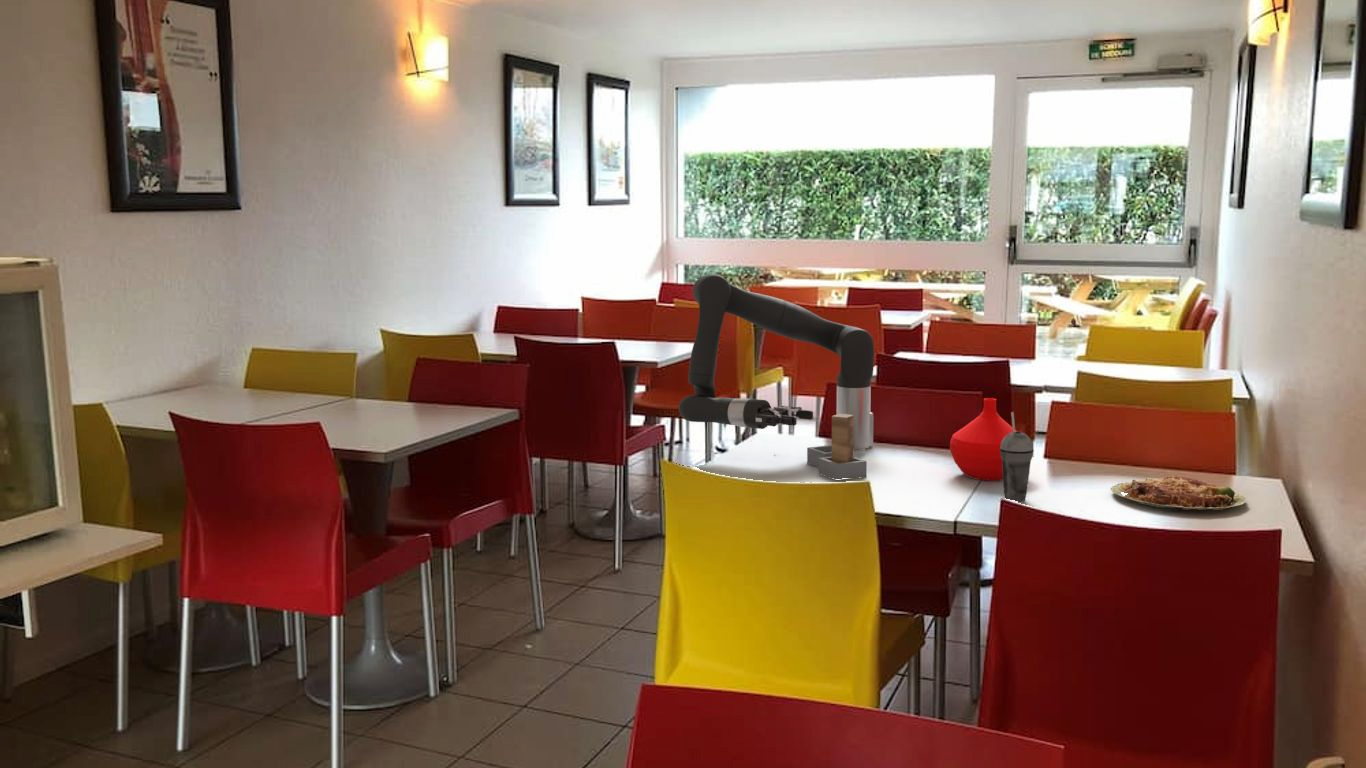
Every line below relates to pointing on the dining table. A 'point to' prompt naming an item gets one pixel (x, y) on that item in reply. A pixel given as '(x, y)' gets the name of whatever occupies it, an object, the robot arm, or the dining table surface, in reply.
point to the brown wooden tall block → (842, 438)
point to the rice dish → (1179, 493)
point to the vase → (981, 444)
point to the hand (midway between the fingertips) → (804, 418)
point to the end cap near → (842, 468)
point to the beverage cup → (1016, 464)
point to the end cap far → (818, 454)
